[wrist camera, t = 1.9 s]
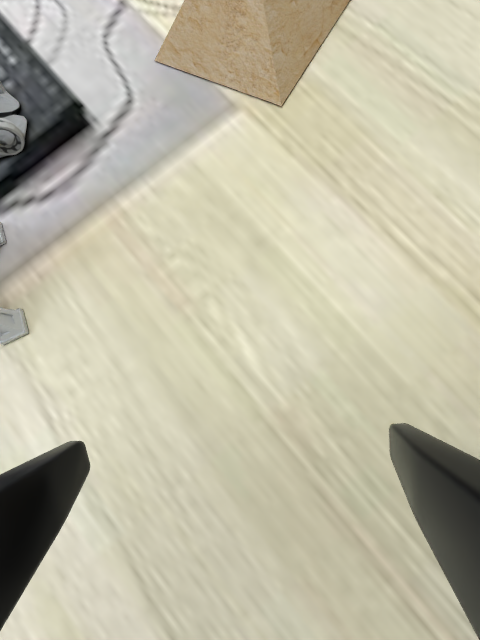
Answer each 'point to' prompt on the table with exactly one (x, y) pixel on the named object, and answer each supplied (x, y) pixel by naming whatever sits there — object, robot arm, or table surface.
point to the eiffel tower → (11, 316)
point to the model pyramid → (249, 42)
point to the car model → (10, 125)
